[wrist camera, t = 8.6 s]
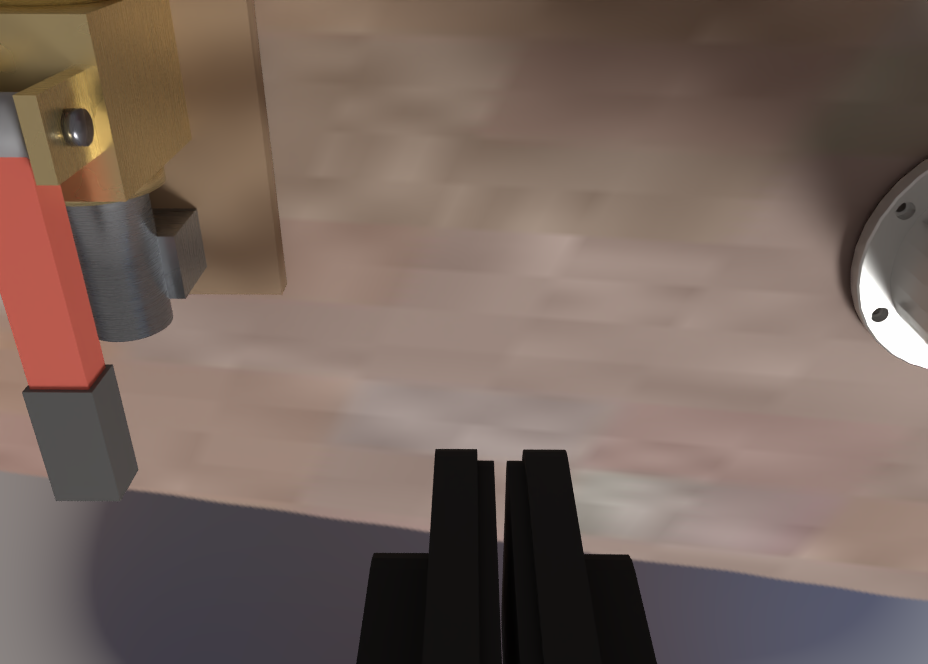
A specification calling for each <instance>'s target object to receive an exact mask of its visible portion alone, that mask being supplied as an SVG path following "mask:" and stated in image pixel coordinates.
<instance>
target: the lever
mask: <svg viewBox="0 0 928 664" xmlns="http://www.w3.org/2000/svg"><path fill="white" fill-rule="evenodd" d="M16 93H18V92H0V293H1V297H2V300H3V303H4V306H5V310H6V313H7V316H8V319H9V323H10V326H11V329H12V332H13V336H14V339H15V342H16V345H17V349H18V352H19V355H20V358H21V362H22V365H23V368H24V372H25V375H26V378H27V381H28V386H27V387H26V388H25V390H24V391H23V392H22V394H23V397H24V400H25V403H26V407H27V410H28V413H29V416H30V419H31V423H32V426H33V429H34V432H35V435H36V439H37V442H38V445H39V448H40V451H41V454H42V458H43V461H44V464H45V467H46V470H47V474H48V477H49V480H50V483H51V486H52V490H53V493H54V496H55V499H56V501H121V499H122V498H123V496H124V494H125V492H126V491H127V489H128V487H129V485H130V484H131V482H132V480H133V478H134V476H135V475H136V473H137V471H138V466H137V462H136V458H135V454H134V450H133V446H132V442H131V437H130V433H129V429H128V425H127V421H126V417H125V413H124V409H123V405H122V400H121V396H120V392H119V388H118V384H117V380H116V376H115V372H114V368H113V365H105V363H104V358H103V354H102V350H101V346H100V342H99V338H98V334H97V330H96V326H95V322H94V318H93V314H92V310H91V306H90V302H89V298H88V294H87V290H86V286H85V282H84V278H83V274H82V270H81V266H80V262H79V258H78V254H77V250H76V246H75V242H74V238H73V234H72V230H71V226H70V222H69V218H68V214H67V210H66V206H65V202H64V198H63V194H62V190H61V186H60V185H36V181H35V178H34V174H33V170H32V167H31V163H30V159H29V155H28V152H27V148H26V144H25V140H24V137H23V133H22V129H21V126H20V122H19V118H18V114H17V111H16V107H15V103H14V100H13V96H12V95H14V94H16Z"/></svg>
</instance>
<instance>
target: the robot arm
mask: <svg viewBox="0 0 928 664" xmlns="http://www.w3.org/2000/svg"><path fill="white" fill-rule="evenodd" d="M900 205H901V206H900ZM899 206H900V207H899ZM898 207H899V208H898ZM851 294H852V298H853V302H854V307H855V310H856V312H857V314H858V316H859V318H860V320H861V322H862V324H863V326H864V327H865V328H866V329H867V330H868V332H869V333H870V334H871V335H872V337H873V338H874V339H875V340H876V342H878V343H879V344H880V345H881V346H882V347H883V348H884V349H886V350H887V351H888V352H889V353H890V354H891V355H893V356H895V357H897V358H899V359H901V360H903V361H905V362H906V363H908V364H912V365H915V366H919V367H922V368H926V369H928V159H926V160H924V161H923V162H921V163H920V164H919V165H917V166H916V167H915V168H914V169H913V170H911V171H910V172H909V173H908V174H907V175H905V176H904V177H903V178H902V179H901V180H899V181H898V182H897V183H896V185H895V186H894V187H893V188H892V189H891V190H890V191H889V192H888V193H887V195H886V196H885V197H884V198H883V199H882V200H881V201H880V203H879V204H878V206H877V207H876V209H875V210H874V212H873V213H872V215H871V216H870V218H869V219H868V221H867V223H866V224H865V226H864V229H863V231H862V233H861V236H860V238H859V240H858V243H857V245H856V248H855V252H854V257H853V261H852V266H851ZM502 651H503V664H657V662H656V658H655V653H654V649H653V645H652V641H651V637H650V632H649V628H648V624H647V620H646V615H645V611H644V607H643V603H642V599H641V594H640V590H639V586H638V582H637V577H636V573H635V569H634V566H633V562H632V559H631V558H630V556H629V555H615V554H584V553H583V547H582V541H581V535H580V529H579V523H578V517H577V511H576V505H575V499H574V493H573V487H572V481H571V475H570V468H569V462H568V457H567V452H566V450H523V455H522V461H507V466H506V494H505V523H504V552H503V581H502ZM356 664H502V656H501V630H500V607H499V579H498V553H497V528H496V502H495V477H494V461H477V449H436V450H435V463H434V479H433V495H432V511H431V527H430V543H429V553H374V554H373V557H372V561H371V567H370V574H369V580H368V587H367V594H366V601H365V608H364V615H363V621H362V628H361V635H360V643H359V649H358V656H357V663H356Z"/></svg>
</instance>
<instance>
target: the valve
mask: <svg viewBox="0 0 928 664" xmlns="http://www.w3.org/2000/svg"><path fill="white" fill-rule="evenodd" d="M0 92H18V93H16V94H14V95H12V96H13V100H14V103H15V107H16V111H17V114H18V118H19V122H20V126H21V129H22V133H23V137H24V140H25V144H26V148H27V152H28V155H29V159H30V163H31V167H32V170H33V174H34V178H35V181H36V185H60V186H61V190H62V194H63V198H64V202H65V206H66V210H67V214H68V218H69V222H70V226H71V230H72V234H73V238H74V242H75V246H76V250H77V254H78V258H79V262H80V266H81V270H82V274H83V278H84V282H85V286H86V290H87V294H88V298H89V302H90V306H91V310H92V314H93V318H94V322H95V326H96V330H97V334H98V338H99V340H102V341H108V342H126V341H133V340H138V339H142V338H146V337H149V336H151V335H154V334H156V333H158V332H160V331H162V330H163V329H165V328H166V327H167V326H168V325H169V324H170V323H171V322H172V320H173V312H172V307H171V302H170V298H175V299H186V297H187V296H188V294H189V293H190V291H191V290H192V288H193V287H194V285H195V284H196V282H197V281H198V279H199V278H200V276H201V275H202V273H203V272H204V270H205V269H206V267H207V264H206V258H205V252H204V246H203V240H202V234H201V228H200V223H199V217H198V211H197V208H152V207H151V202H150V197H149V193H150V192H152V191H154V190H156V189H157V188H159V187H160V186H161V185H163V183H164V182H165V180H166V174H165V169H164V165H165V164H166V163H167V162H168V161H169V160H170V159H171V158H173V157H174V156H175V155H176V154H177V153H178V152H179V151H180V150H181V149H182V148H183V147H184V146H185V145H186V144H187V143H188V142H189V141H190V140H191V139H192V136H191V130H190V124H189V118H188V112H187V106H186V100H185V94H184V88H183V82H182V76H181V70H180V64H179V57H178V51H177V45H176V39H175V33H174V27H173V21H172V15H171V9H170V3H169V0H0Z"/></svg>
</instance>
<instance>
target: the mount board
mask: <svg viewBox="0 0 928 664" xmlns="http://www.w3.org/2000/svg"><path fill="white" fill-rule="evenodd" d="M169 3H170V9H171V15H172V21H173V27H174V33H175V39H176V45H177V51H178V57H179V64H180V70H181V76H182V82H183V88H184V94H185V100H186V106H187V112H188V118H189V124H190V130H191V136H192V139H191V140H190V141H189V142H188V143H187V144H186V145H185V146H184V147H183V148H182V149H181V150H180V151H179V152H178V153H177V154H176V155H175V156H174V157H173V158H171V159H170V160H169V161H168V162H167V163H166V164H165V165H164V169H165V174H166V180H165V182H164V183H163V185H161V186H160V187H159V188H157V189H156V190H154V191H152V192H150V193H149V197H150V202H151V207H152V208H197V211H198V217H199V223H200V228H201V234H202V240H203V246H204V252H205V258H206V264H207V267H206V269H205V270H204V272H203V273H202V275H201V276H200V278H199V279H198V281H197V282H196V284H195V285H194V287H193V288H192V290H191V291H190V293H189V294H271V295H282V294H283V291H284V289H285V287H286V285H287V281H286V272H285V264H284V255H283V247H282V238H281V230H280V221H279V213H278V204H277V196H276V187H275V179H274V170H273V162H272V153H271V145H270V136H269V128H268V119H267V111H266V102H265V94H264V85H263V77H262V68H261V60H260V51H259V43H258V34H257V26H256V17H255V9H254V0H169Z"/></svg>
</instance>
